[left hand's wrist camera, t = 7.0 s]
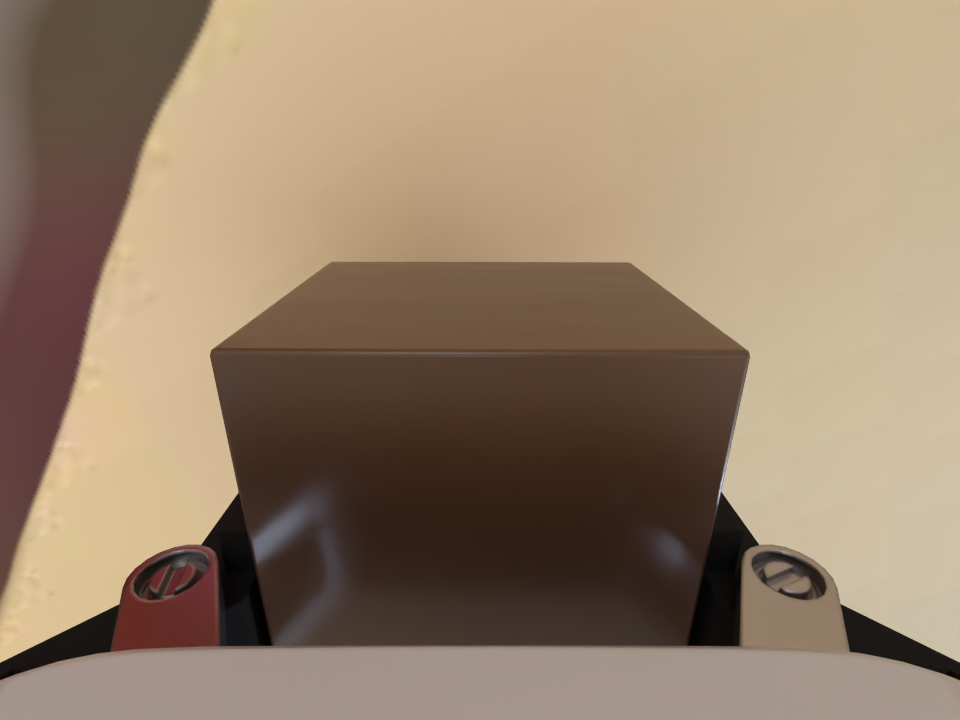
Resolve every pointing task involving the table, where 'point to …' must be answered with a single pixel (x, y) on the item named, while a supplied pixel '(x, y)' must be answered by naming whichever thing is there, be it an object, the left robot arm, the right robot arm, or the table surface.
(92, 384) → the table surface
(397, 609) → the beam
